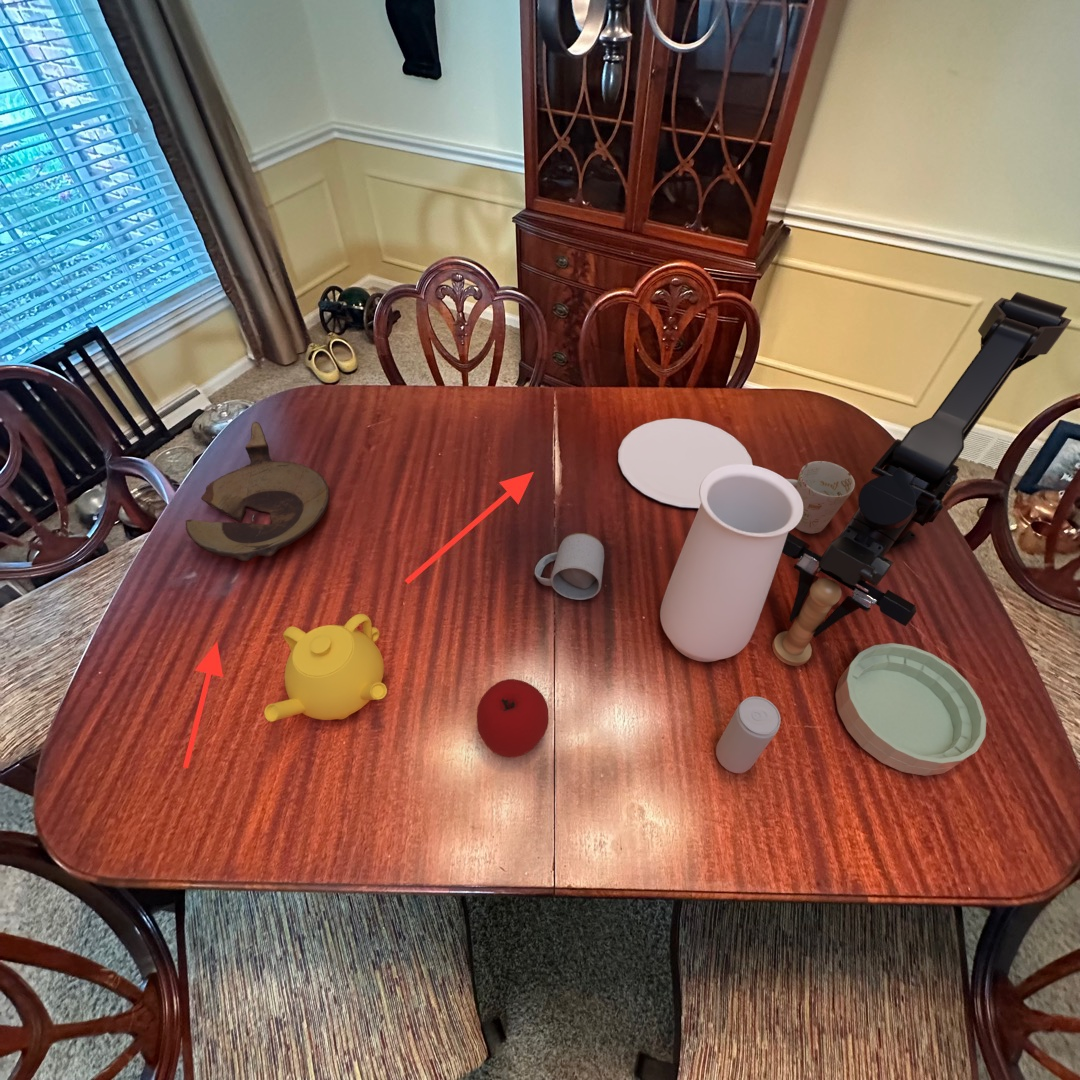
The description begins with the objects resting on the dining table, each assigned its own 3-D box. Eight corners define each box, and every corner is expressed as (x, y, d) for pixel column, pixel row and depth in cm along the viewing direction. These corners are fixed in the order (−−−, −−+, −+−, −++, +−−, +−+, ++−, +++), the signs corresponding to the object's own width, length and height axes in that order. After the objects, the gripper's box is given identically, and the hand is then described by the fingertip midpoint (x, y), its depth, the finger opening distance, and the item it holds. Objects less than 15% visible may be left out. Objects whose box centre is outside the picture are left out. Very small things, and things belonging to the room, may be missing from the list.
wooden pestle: (792, 629, 89) (831, 562, 77) (817, 657, 86) (861, 592, 74) (764, 642, 87) (799, 576, 75) (788, 671, 84) (829, 607, 72)
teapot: (285, 748, 77) (254, 710, 69) (289, 657, 86) (262, 613, 77) (398, 724, 79) (382, 684, 71) (391, 638, 88) (376, 593, 80)
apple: (542, 772, 75) (542, 740, 68) (471, 760, 76) (464, 727, 69) (553, 704, 81) (554, 667, 74) (487, 694, 82) (482, 657, 75)
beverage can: (710, 739, 78) (732, 696, 69) (746, 736, 78) (773, 693, 69) (720, 776, 75) (745, 737, 66) (758, 773, 75) (788, 733, 66)
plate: (733, 421, 121) (735, 416, 120) (768, 510, 105) (771, 505, 104) (610, 423, 121) (610, 418, 120) (626, 513, 104) (627, 508, 103)
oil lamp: (172, 574, 96) (148, 543, 90) (246, 451, 115) (231, 419, 110) (309, 583, 95) (294, 552, 89) (360, 457, 114) (351, 425, 108)
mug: (834, 542, 100) (858, 499, 92) (757, 531, 102) (774, 488, 94) (829, 507, 105) (851, 464, 98) (755, 497, 107) (771, 454, 99)
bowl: (894, 645, 87) (910, 626, 83) (992, 744, 77) (1016, 727, 74) (807, 689, 82) (820, 671, 79) (900, 800, 73) (920, 785, 69)
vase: (693, 687, 83) (745, 558, 62) (639, 618, 90) (669, 481, 69) (764, 647, 87) (837, 514, 66) (707, 584, 94) (755, 446, 73)
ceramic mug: (604, 562, 97) (607, 530, 91) (599, 603, 92) (602, 572, 86) (539, 555, 98) (538, 523, 93) (531, 595, 93) (529, 564, 87)
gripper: (798, 485, 75) (728, 589, 78) (953, 567, 66) (867, 680, 69) (808, 498, 84) (746, 590, 88) (944, 571, 76) (869, 670, 79)
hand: (802, 629), depth 81 cm, fingers open, 3 cm apart
